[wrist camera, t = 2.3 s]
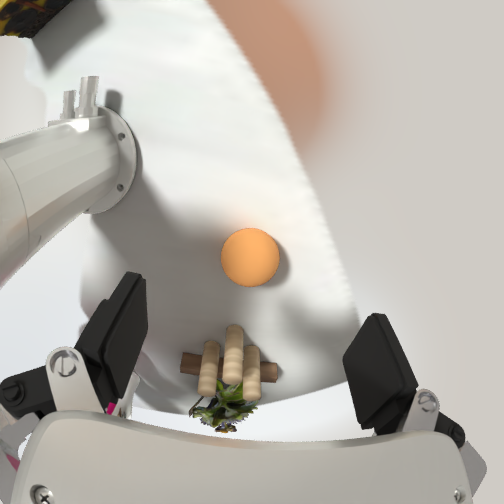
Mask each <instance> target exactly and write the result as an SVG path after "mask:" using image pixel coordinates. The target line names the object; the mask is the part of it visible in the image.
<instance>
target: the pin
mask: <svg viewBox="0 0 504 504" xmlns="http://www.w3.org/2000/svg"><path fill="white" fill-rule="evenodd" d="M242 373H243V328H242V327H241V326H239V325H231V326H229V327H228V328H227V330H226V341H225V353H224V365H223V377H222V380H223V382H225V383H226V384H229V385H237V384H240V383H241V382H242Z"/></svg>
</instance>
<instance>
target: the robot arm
mask: <svg viewBox="0 0 504 504" xmlns="http://www.w3.org/2000/svg"><path fill="white" fill-rule="evenodd" d="M98 81H99V76H88V77H82V78H81V83H80V91H79V94H80V99H79V107H77V108H75V109H74V102H75V96H76V90H72V91H65V92H64V96H63V113H62V114H60V119H59V120H54V121H49V122H48V127H45V128H41V129H37V130H33V131H29V132H26V133H22V134H19V135H15V136H12V137H9V138H6V139H3V140H0V289H1V288H2V287H3V286H4V285H5V284H6V283H7V281H8V280H9V279H10V278H11V277H12V276H13V275H14V274H15V273H16V272H17V271H18V270H19V269H20V268H21V267H22V266H23V265H24V264H25V263H26V262H27V261H28V260H29V259H30V258H31V257H32V256H33V255H34V254H35V253H36V252H38V251H39V250H40V249H41V248H42V247H43V246H44V245H45V244H46V243H47V242H49V241H50V240H51V239H52V238H53V237H54V236H55V235H56V234H57V233H59V232H60V231H61V230H62V229H63V228H64V227H66V226H67V225H68V224H69V223H70V222H72V221H73V220H74V219H76V218H77V217H78V216H79V215H81V214H82V213H85V214H96V213H102V212H104V211H106V210H109V209H110V208H112V207H113V206H114V205H116V204H117V203H118V202H119V201H120V200H121V199H122V198H123V197H124V196H125V194H126V193H127V192H128V190H129V188H130V186H131V184H132V182H133V178H134V175H135V171H136V163H137V157H136V147H135V142H134V138H133V136H132V133H131V131H130V129H129V127H128V126H127V124H126V123H125V121H124V120H123V119H122V118H121V117H120V116H119V115H118V114H117V113H116V112H114V111H113V110H111V109H109V108H106V107H104V106H99V105H95V101H96V93H97V89H98ZM124 134H125V138H124V137H123V135H124ZM122 185H123V186H124V187H123V186H122ZM147 330H148V320H147V302H146V280H145V279H143V278H142V276H141V274H137V273H133V272H129V271H128V272H126V274H125V275H124V277H123V278H122V280H121V281H120V283H119V284H118V286H117V287H116V289H115V291H114V292H113V294H112V295H111V297H110V299H109V300H106V299H104V300H102V302H101V303H100V304H99V306H98V308H97V309H96V311H95V312H94V314H93V316H92V317H91V319H90V321H89V322H88V324H87V326H86V327H85V329H84V331H83V332H82V334H81V336H80V338H79V339H78V341H77V343H76V345H75V347H74V348H71V347H59V348H57V349H55V350H53V351H52V352H51V353H50V354H49V355H48V357H47V360H46V365H45V366H42V367H39V368H36V369H33V370H30V371H26V372H23V373H20V374H17V375H14V376H11V377H8V378H6V379H4V380H3V381H2V382H1V384H0V499H1V501H2V502H3V504H473V500H472V497H473V495H474V494H475V492H476V491H477V489H478V487H479V485H480V484H481V482H482V480H483V478H484V476H485V474H486V470H487V467H486V464H485V461H484V460H483V459H482V458H481V457H480V455H479V454H478V453H477V452H476V450H475V449H474V448H473V447H472V446H471V445H470V443H469V442H468V441H466V442H465V433H464V430H463V429H462V427H461V426H460V425H459V424H457V423H456V422H454V421H453V420H451V419H450V418H448V417H447V416H445V415H444V414H442V413H441V412H439V407H440V405H439V401H438V399H437V397H436V396H435V394H434V393H433V392H431V391H430V390H427V389H421V390H419V391H416V388H417V387H418V383H417V381H416V378H415V376H414V374H413V371H412V369H411V367H410V364H409V362H408V360H407V358H406V356H405V353H404V351H403V349H402V347H401V345H400V343H399V340H398V338H397V336H396V334H395V332H394V330H393V328H392V326H391V324H390V322H389V320H388V318H387V316H386V315H385V314H379V313H373V314H371V316H368V317H367V319H366V320H365V322H364V324H363V325H362V327H361V329H360V330H359V332H358V333H357V335H356V337H355V338H354V340H353V341H352V343H351V345H350V346H349V348H348V349H347V351H346V352H345V354H344V356H343V365H344V369H345V373H346V376H347V380H348V384H349V388H350V392H351V396H352V400H353V404H354V408H355V412H356V417H357V421H358V423H359V424H361V428H362V430H364V429H372V428H373V427H374V430H375V431H374V433H373V435H372V437H365V438H357V439H347V440H334V441H315V442H271V441H270V442H269V441H252V440H240V439H230V438H221V437H213V436H206V435H200V434H194V433H187V432H182V431H177V430H172V429H167V428H163V427H158V426H154V425H149V424H145V423H141V422H138V421H133V420H130V419H126V418H122V417H118V416H114V415H109V414H107V412H106V408H108V406H109V403H113V404H116V405H117V403H118V400H119V399H123V398H124V395H125V392H126V389H127V386H128V383H129V380H130V378H131V375H132V372H133V369H134V366H135V364H136V361H137V358H138V355H139V353H140V350H141V348H142V345H143V342H144V340H145V337H146V334H147ZM30 433H32V434H31V436H30V438H29V440H28V443H27V445H26V447H25V450H24V452H23V455H22V458H21V461H20V459H19V457H18V448H19V446H20V445H21V443H22V442H24V441H25V440H26V438H25V437H26V436H27V435H28V434H30Z"/></svg>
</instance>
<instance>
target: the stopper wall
mask: <svg viewBox="0 0 504 504" xmlns="http://www.w3.org/2000/svg"><path fill="white" fill-rule="evenodd" d="M202 356H203V355H196V354H189V353H183V356H182V361H181V365H180V373H187V374H193V375H200V370H201V363H202ZM223 365H224V358H219V362H218V373H217V378H222V377H223ZM277 378H278V376H277V364H276V363H269V362H260V382H271V383H276V380H277ZM242 380H243V373H242Z"/></svg>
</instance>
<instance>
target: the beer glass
mask: <svg viewBox="0 0 504 504" xmlns="http://www.w3.org/2000/svg"><path fill="white" fill-rule="evenodd" d="M139 383H140V378H139V376H138V375H137V374H136V373H135V372H132V375H131V378H130V380H129V383H128V386H127V389H126V392H125V395H124V398H123V399H119V400H118V403H117V405H116V404H113V403H109V406H108V408H107V411H106V412H107V414H109V415H114V416H118V417H122V418H126V419H130V420H131V416H132V403H133V396H134V393H135V390H136V388H137V387H138V385H139Z"/></svg>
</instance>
